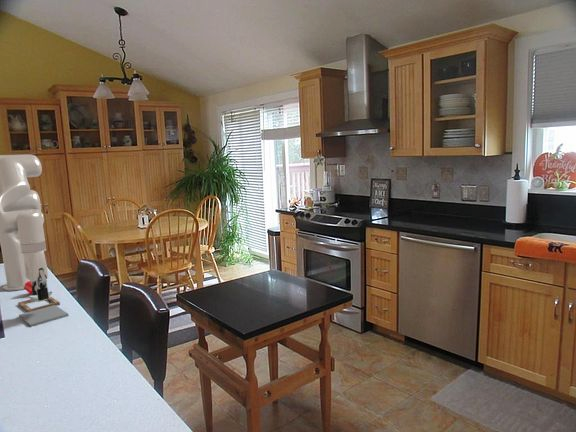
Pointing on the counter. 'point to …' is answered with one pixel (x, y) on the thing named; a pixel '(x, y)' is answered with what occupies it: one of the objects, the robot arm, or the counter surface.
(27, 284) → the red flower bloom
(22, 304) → the pocket frame
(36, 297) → the pacifier
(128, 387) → the counter surface
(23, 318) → the slate mat
